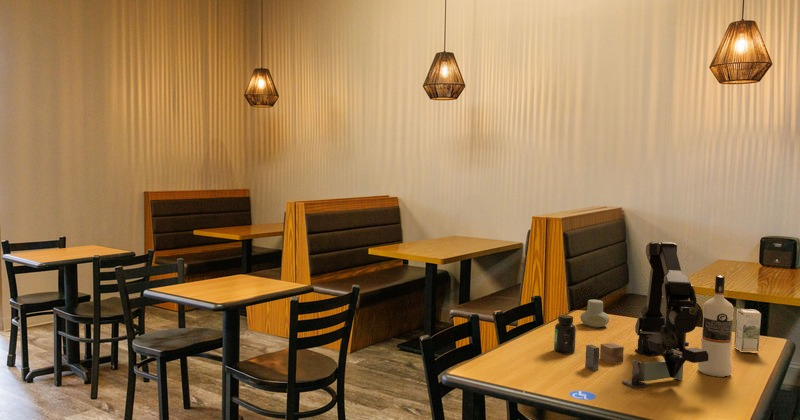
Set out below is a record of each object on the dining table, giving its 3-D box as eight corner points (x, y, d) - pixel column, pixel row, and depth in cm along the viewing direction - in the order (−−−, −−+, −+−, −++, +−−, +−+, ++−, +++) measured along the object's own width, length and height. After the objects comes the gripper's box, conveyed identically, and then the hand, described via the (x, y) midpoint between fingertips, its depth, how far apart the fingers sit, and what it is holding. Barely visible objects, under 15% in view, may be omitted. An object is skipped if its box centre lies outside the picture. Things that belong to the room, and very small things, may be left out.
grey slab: (641, 384, 179) (642, 364, 179) (637, 382, 181) (638, 362, 180) (682, 379, 185) (683, 359, 185) (677, 377, 187) (678, 358, 186)
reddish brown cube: (612, 357, 206) (612, 342, 205) (622, 362, 201) (623, 347, 201) (599, 359, 204) (600, 344, 203) (610, 363, 199) (611, 348, 199)
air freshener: (581, 327, 245) (582, 302, 244) (578, 322, 253) (580, 298, 252) (610, 329, 243) (611, 304, 242) (607, 324, 251) (608, 299, 251)
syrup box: (750, 349, 220) (753, 308, 219) (758, 354, 214) (761, 312, 213) (733, 348, 220) (736, 307, 219) (741, 353, 214) (743, 311, 214)
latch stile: (591, 366, 195) (592, 344, 195) (599, 370, 192) (600, 347, 192) (585, 367, 195) (586, 345, 194) (592, 370, 191) (593, 348, 191)
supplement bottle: (552, 353, 209) (554, 317, 208) (555, 347, 215) (556, 313, 215) (573, 355, 207) (575, 319, 206) (575, 350, 213) (577, 315, 212)
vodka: (728, 370, 195) (734, 274, 193) (734, 379, 187) (740, 279, 185) (695, 366, 198) (701, 272, 196) (700, 375, 189) (705, 277, 187)
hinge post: (635, 381, 183) (636, 357, 182) (648, 386, 178) (649, 362, 178) (622, 383, 181) (623, 359, 180) (634, 388, 176) (635, 364, 176)
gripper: (629, 318, 183) (626, 370, 185) (681, 334, 166) (678, 392, 168) (657, 315, 188) (655, 366, 189) (711, 331, 171) (708, 387, 172)
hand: (672, 377), depth 179 cm, fingers closed
